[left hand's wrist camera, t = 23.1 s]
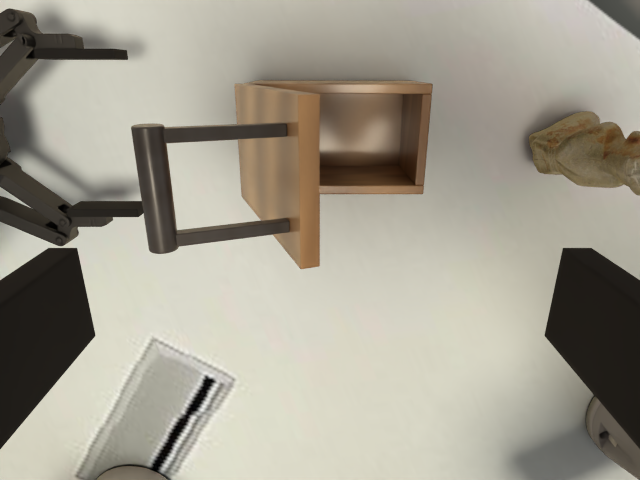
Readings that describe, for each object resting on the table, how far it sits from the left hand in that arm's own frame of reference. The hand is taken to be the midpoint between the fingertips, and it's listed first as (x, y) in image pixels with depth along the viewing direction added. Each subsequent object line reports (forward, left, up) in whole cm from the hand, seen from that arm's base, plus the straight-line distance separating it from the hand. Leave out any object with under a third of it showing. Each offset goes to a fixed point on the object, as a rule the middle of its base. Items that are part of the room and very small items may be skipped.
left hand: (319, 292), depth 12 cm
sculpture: (-22, -12, -36) cm, 44 cm away
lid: (+2, +1, -19) cm, 19 cm away
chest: (-1, -1, -36) cm, 37 cm away
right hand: (+14, +9, -30) cm, 34 cm away
